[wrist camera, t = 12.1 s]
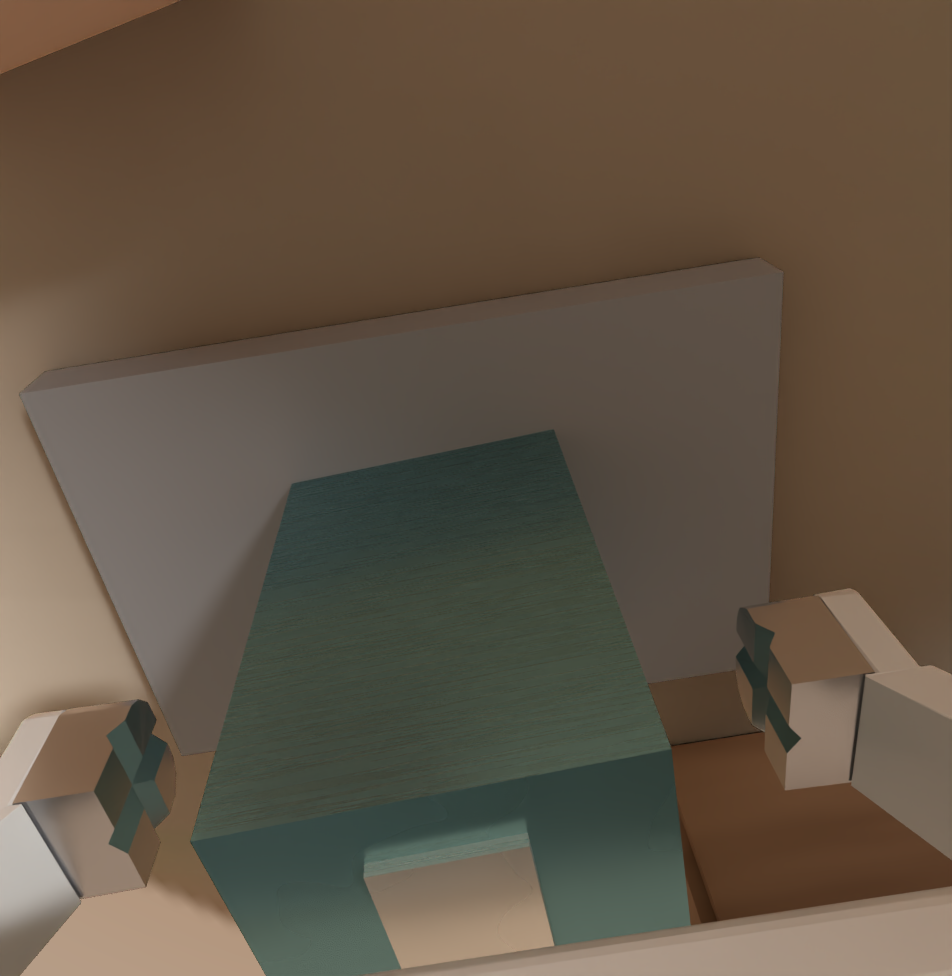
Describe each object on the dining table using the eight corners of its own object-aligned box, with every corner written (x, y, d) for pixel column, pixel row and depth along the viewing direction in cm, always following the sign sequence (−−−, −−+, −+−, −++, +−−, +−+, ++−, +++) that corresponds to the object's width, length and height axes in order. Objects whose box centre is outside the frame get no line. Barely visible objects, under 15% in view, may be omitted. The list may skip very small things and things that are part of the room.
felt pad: (44, 372, 13) (18, 394, 12) (758, 257, 13) (783, 271, 12) (193, 720, 17) (182, 756, 16) (748, 633, 17) (766, 665, 16)
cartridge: (291, 483, 14) (186, 856, 7) (553, 429, 13) (676, 761, 7) (361, 680, 16) (326, 1098, 9) (587, 636, 16) (705, 1031, 9)
